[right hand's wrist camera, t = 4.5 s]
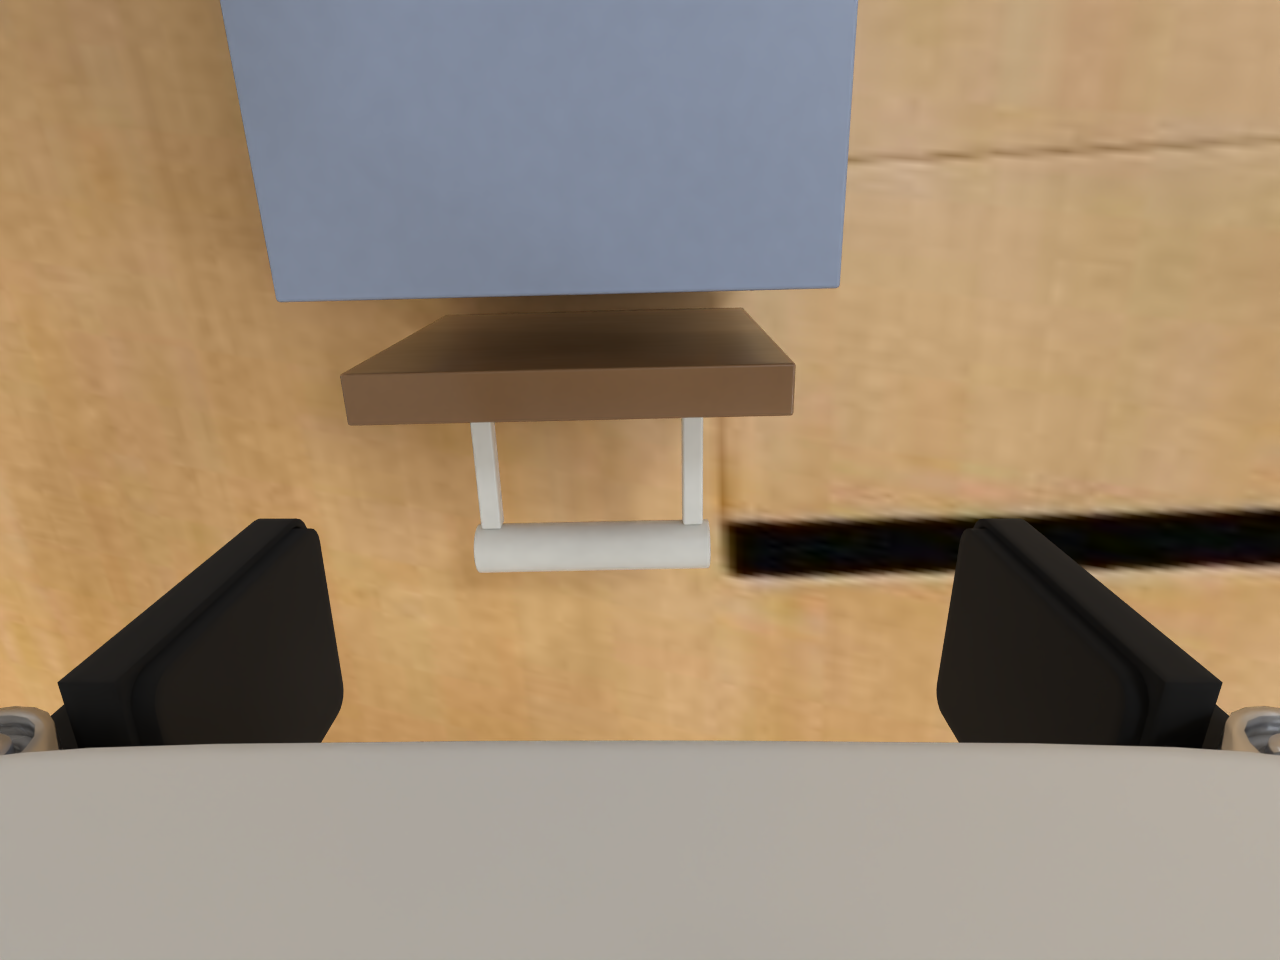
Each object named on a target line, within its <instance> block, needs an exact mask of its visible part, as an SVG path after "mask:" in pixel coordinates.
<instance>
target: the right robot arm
mask: <svg viewBox="0 0 1280 960" xmlns="http://www.w3.org/2000/svg"><path fill="white" fill-rule="evenodd" d="M57 683H58V686H59V689H60V692H61V695H62V698H63V702H64V705H63V706H62V707H61V708H59V709H58V710H57V711H56V712H55V713H54V714H53V715H51V716H50V715H49V713H48V712H45V711H43V710H40V709H38V708H35V707H20V706H13V707H5V708H0V960H1280V708H1275V707H1267V706H1260V707H1245V708H1242V709H1240V710H1237V711H1235V712H1232V713H1231V715H1230V716H1229V715H1227V714H1226V713H1225V712H1224V711H1223V710H1222V709H1221V708H1219V707H1218V706H1217V705H1216V702H1217V698H1218V695H1219V692H1220V689H1221V686H1222V683H1223V682H1221V681H1220V680H1219V679H1218V678H1216V677H1215V676H1214V675H1213V674H1212V673H1210V672H1209V671H1208V670H1207V669H1205V668H1204V667H1203V666H1202V665H1201V664H1199V663H1198V662H1197V661H1196V660H1194V659H1193V658H1192V657H1191V656H1190V655H1188V654H1187V653H1186V652H1185V651H1184V650H1182V649H1181V648H1180V647H1179V646H1177V645H1176V644H1175V643H1174V642H1173V641H1171V640H1170V639H1169V638H1168V637H1166V636H1165V635H1164V634H1163V633H1162V632H1160V631H1159V630H1158V629H1157V628H1155V627H1154V626H1153V625H1152V624H1151V623H1149V622H1148V621H1147V620H1146V619H1144V618H1143V617H1142V616H1141V615H1140V614H1138V613H1137V612H1136V611H1135V610H1133V609H1132V608H1131V607H1130V606H1129V605H1127V604H1126V603H1125V602H1124V601H1123V600H1121V599H1120V598H1119V597H1118V596H1116V595H1115V594H1114V593H1113V592H1112V591H1110V590H1109V589H1108V588H1107V587H1105V586H1104V585H1103V584H1102V583H1101V582H1099V581H1098V580H1097V579H1096V578H1094V577H1093V576H1092V575H1091V574H1090V573H1088V572H1087V571H1086V570H1085V569H1083V568H1082V567H1081V566H1080V565H1079V564H1077V563H1076V562H1075V561H1074V560H1072V559H1071V558H1070V557H1069V556H1068V555H1066V554H1065V553H1064V552H1063V551H1062V550H1060V549H1059V548H1058V547H1057V546H1055V545H1054V544H1053V543H1052V542H1051V541H1049V540H1048V539H1047V538H1046V537H1044V536H1043V535H1042V534H1041V533H1040V532H1038V531H1037V530H1036V529H1035V528H1033V527H1032V526H1031V525H1030V524H1029V523H1027V522H1026V521H1024V520H1022V519H980V520H978V521H977V522H976V524H975V526H974V528H973V529H966V530H965V531H964V532H963V534H962V536H961V540H960V546H959V552H958V558H957V564H956V570H955V576H954V583H953V589H952V595H951V601H950V607H949V613H948V620H947V626H946V632H945V638H944V644H943V651H942V657H941V663H940V669H939V675H938V681H937V701H938V705H939V709H940V711H941V713H942V715H943V717H944V718H945V720H946V722H947V723H948V725H949V727H950V728H951V730H952V732H953V733H954V735H955V737H956V738H957V740H958V742H959V743H930V742H813V741H443V742H350V743H321V742H322V740H323V738H324V737H325V735H326V733H327V732H328V730H329V728H330V727H331V725H332V723H333V722H334V720H335V718H336V717H337V715H338V713H339V711H340V709H341V705H342V701H343V681H342V675H341V669H340V663H339V657H338V651H337V644H336V638H335V632H334V626H333V620H332V614H331V607H330V601H329V595H328V589H327V583H326V576H325V570H324V564H323V558H322V552H321V546H320V540H319V536H318V534H317V532H316V531H315V530H314V529H307V528H306V526H305V524H304V522H303V521H302V520H300V519H258V520H256V521H254V522H253V523H251V524H250V525H249V526H248V527H247V528H245V529H244V530H243V531H242V532H240V533H239V534H238V535H237V536H236V537H234V538H233V539H232V540H231V541H229V542H228V543H227V544H226V545H225V546H223V547H222V548H221V549H220V550H218V551H217V552H216V553H215V554H214V555H212V556H211V557H210V558H209V559H208V560H206V561H205V562H204V563H203V564H201V565H200V566H199V567H198V568H197V569H195V570H194V571H193V572H192V573H190V574H189V575H188V576H187V577H186V578H184V579H183V580H182V581H181V582H179V583H178V584H177V585H176V586H175V587H173V588H172V589H171V590H170V591H168V592H167V593H166V594H165V595H164V596H162V597H161V598H160V599H159V600H157V601H156V602H155V603H154V604H153V605H151V606H150V607H149V608H148V609H147V610H145V611H144V612H143V613H142V614H140V615H139V616H138V617H137V618H136V619H134V620H133V621H132V622H131V623H129V624H128V625H127V626H126V627H125V628H123V629H122V630H121V631H120V632H118V633H117V634H116V635H115V636H114V637H112V638H111V639H110V640H109V641H107V642H106V643H105V644H104V645H103V646H101V647H100V648H99V649H98V650H96V651H95V652H94V653H93V654H92V655H90V656H89V657H88V658H87V659H86V660H84V661H83V662H82V663H81V664H79V665H78V666H77V667H76V668H75V669H73V670H72V671H71V672H70V673H68V674H67V675H66V676H65V677H64V678H62V679H61V680H60V681H59V682H57Z"/></svg>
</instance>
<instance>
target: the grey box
mask: <svg viewBox="0 0 1280 960" xmlns="http://www.w3.org/2000/svg"><path fill="white" fill-rule="evenodd" d="M220 4H221V9H222V14H223V20H224V25H225V30H226V35H227V41H228V46H229V51H230V57H231V62H232V67H233V72H234V78H235V83H236V88H237V93H238V99H239V104H240V109H241V115H242V120H243V125H244V130H245V136H246V141H247V146H248V152H249V157H250V162H251V167H252V173H253V178H254V183H255V189H256V194H257V199H258V204H259V210H260V215H261V220H262V226H263V231H264V236H265V241H266V247H267V252H268V257H269V263H270V268H271V273H272V278H273V284H274V289H275V294H276V299H277V301H279V302H309V301H349V300H388V299H428V298H467V297H506V296H546V295H585V294H625V293H664V292H703V291H743V290H782V289H822V288H837V287H839V285H840V271H841V256H842V240H843V225H844V209H845V194H846V179H847V163H848V148H849V132H850V117H851V102H852V86H853V71H854V55H855V40H856V25H857V9H858V0H220Z"/></svg>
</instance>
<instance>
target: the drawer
mask: <svg viewBox="0 0 1280 960" xmlns="http://www.w3.org/2000/svg"><path fill="white" fill-rule="evenodd" d="M795 367H796V366H795V363H794V362H793V361H792V360H791V359H790V358H789V357H788V356H787V355H786V354H785V353H784V352H783V351H782V350H781V348H780V347H779V346H778V345H777V344H776V343H775V342H774V341H773V340H772V339H771V338H770V337H769V336H768V335H767V334H766V332H765V331H764V330H763V329H762V328H761V327H760V326H759V325H758V324H757V323H756V322H755V321H754V320H753V319H752V318H751V316H750V315H749V314H748V313H747V312H746V311H745V310H744V309H743V308H713V309H673V310H633V311H594V312H554V313H514V314H474V315H446V316H444V317H442V318H441V319H439V320H437V321H435V322H433V323H432V324H430V325H428V326H426V327H425V328H423V329H421V330H419V331H417V332H416V333H414V334H412V335H410V336H409V337H407V338H405V339H403V340H401V341H400V342H398V343H396V344H394V345H393V346H391V347H389V348H387V349H385V350H384V351H382V352H380V353H378V354H377V355H375V356H373V357H371V358H369V359H368V360H366V361H364V362H362V363H361V364H359V365H357V366H355V367H353V368H352V369H350V370H348V371H346V372H345V373H343V374H341V376H340V378H341V384H342V390H343V396H344V402H345V408H346V414H347V420H348V424H349V425H351V426H352V425H396V424H439V423H470V425H471V434H472V444H473V453H474V462H475V472H476V481H477V490H478V499H479V509H480V518H481V524H479V525H478V526H477V529H476V532H475V537H474V559H475V565H476V568H477V570H478V572H480V573H487V572H537V571H586V570H636V569H686V568H709V566H710V529H709V522H708V520H707V519H703V417H744V416H787V415H792V414H793V409H794V388H795ZM657 418H681V423H682V520H649V521H601V522H554V523H506V524H503V522H504V516H503V505H502V495H501V485H500V474H499V464H498V453H497V443H496V432H495V422H526V421H570V420H613V419H657Z"/></svg>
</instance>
